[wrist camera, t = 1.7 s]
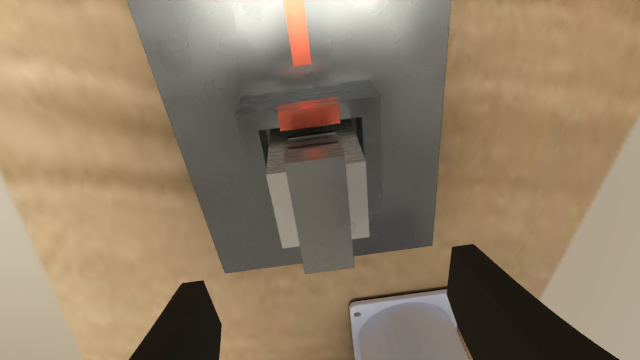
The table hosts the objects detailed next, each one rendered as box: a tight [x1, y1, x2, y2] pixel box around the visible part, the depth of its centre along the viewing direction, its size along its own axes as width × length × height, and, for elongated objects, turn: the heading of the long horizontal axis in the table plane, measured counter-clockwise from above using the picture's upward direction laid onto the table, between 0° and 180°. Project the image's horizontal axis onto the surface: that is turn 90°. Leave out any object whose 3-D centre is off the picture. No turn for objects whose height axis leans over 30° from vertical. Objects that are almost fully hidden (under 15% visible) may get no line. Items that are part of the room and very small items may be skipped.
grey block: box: [266, 118, 369, 274], centre depth 16 cm, size 5×4×6 cm
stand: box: [127, 0, 451, 273], centre depth 18 cm, size 16×13×4 cm
